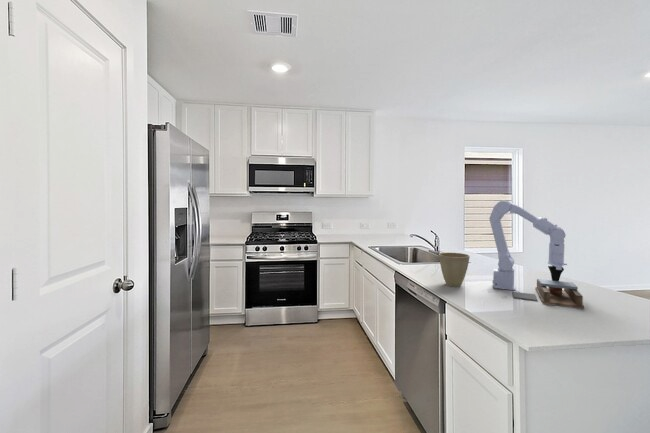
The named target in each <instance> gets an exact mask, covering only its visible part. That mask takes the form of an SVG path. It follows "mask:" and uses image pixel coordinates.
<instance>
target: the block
mask: <svg viewBox="0 0 650 433" xmlns="http://www.w3.org/2000/svg"><path fill="white" fill-rule="evenodd" d="M547 288H548V290H549V292H550V294H558V295H562V290H563V288H556V287H547Z"/></svg>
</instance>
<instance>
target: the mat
mask: <svg viewBox="0 0 650 433" xmlns="http://www.w3.org/2000/svg"><path fill="white" fill-rule="evenodd" d="M511 293H512V298H513V299H514V300H515V299H517V300H525V301H533V302H534V301H535V302H538V298H537V296H536V294H535V293H528V292H518V291H512V292H511Z"/></svg>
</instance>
